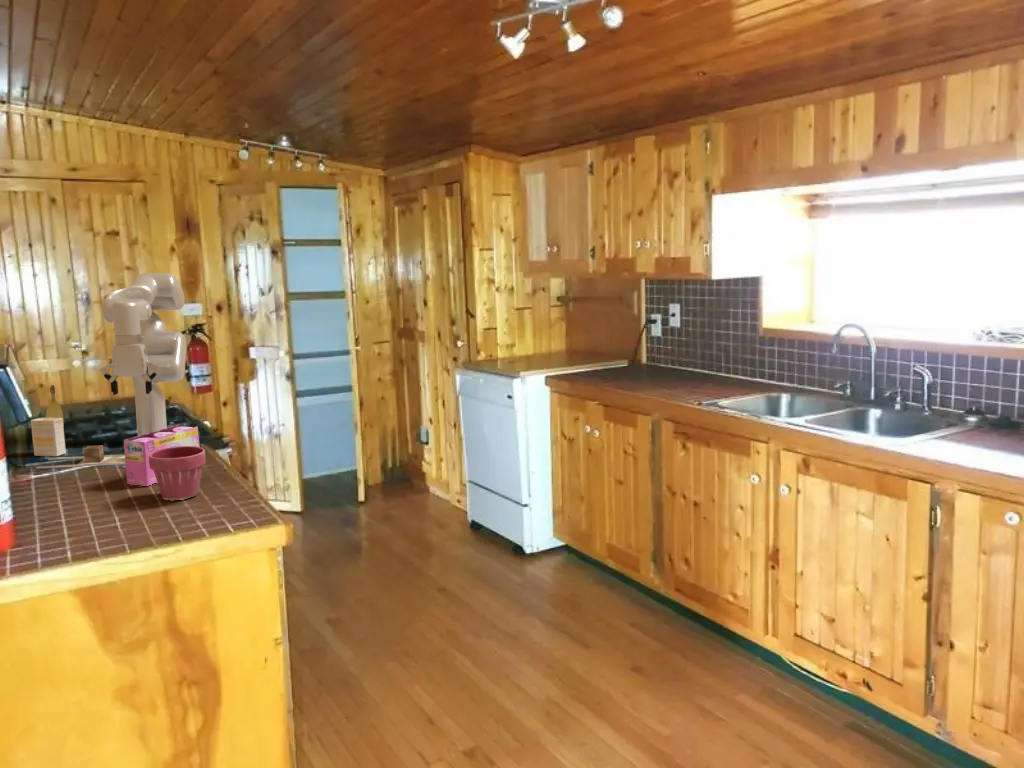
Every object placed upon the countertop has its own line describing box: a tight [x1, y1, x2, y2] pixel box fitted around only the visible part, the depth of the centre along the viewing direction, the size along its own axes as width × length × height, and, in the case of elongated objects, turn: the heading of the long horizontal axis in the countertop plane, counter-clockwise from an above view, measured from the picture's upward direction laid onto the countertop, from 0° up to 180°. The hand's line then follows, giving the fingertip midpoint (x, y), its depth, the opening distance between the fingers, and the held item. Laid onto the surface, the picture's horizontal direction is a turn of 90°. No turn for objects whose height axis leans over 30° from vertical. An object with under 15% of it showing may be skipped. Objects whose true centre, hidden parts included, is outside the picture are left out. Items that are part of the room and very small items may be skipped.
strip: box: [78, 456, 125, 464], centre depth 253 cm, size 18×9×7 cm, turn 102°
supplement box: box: [30, 417, 67, 457], centre depth 260 cm, size 8×5×13 cm, turn 84°
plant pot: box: [149, 446, 207, 499], centre depth 218 cm, size 14×14×13 cm
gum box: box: [123, 424, 201, 487], centre depth 239 cm, size 24×8×14 cm, turn 160°
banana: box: [45, 384, 65, 429], centre depth 277 cm, size 23×6×20 cm, turn 23°
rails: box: [35, 453, 126, 469], centre depth 252 cm, size 30×12×2 cm, turn 102°
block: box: [83, 444, 105, 463], centre depth 252 cm, size 4×4×4 cm
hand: (132, 393), depth 252 cm, fingers open, 9 cm apart
